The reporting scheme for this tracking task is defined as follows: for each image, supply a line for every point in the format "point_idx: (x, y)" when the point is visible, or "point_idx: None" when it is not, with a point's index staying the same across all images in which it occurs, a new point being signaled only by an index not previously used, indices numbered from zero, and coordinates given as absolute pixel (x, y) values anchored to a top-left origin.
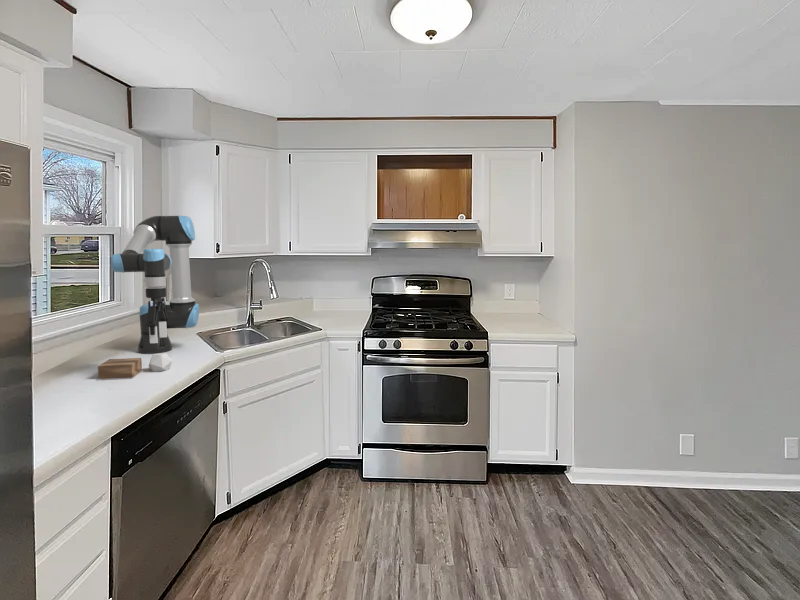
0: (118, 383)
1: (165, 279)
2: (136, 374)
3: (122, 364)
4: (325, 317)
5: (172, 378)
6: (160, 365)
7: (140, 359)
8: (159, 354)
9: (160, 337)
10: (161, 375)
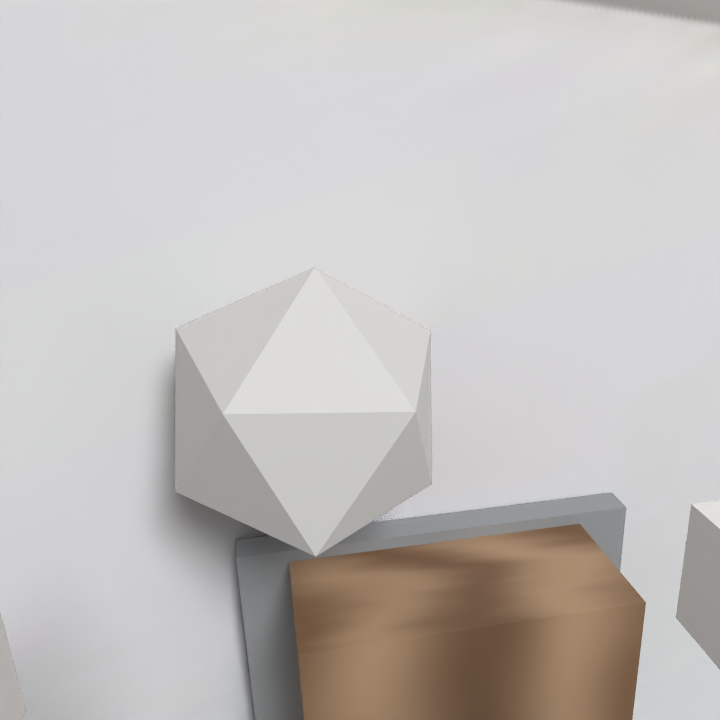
0: (632, 573)
1: None
2: (471, 535)
3: (608, 688)
4: None
5: (577, 157)
6: (429, 365)
7: (328, 640)
8: (339, 460)
9: (22, 697)
10: (422, 319)
